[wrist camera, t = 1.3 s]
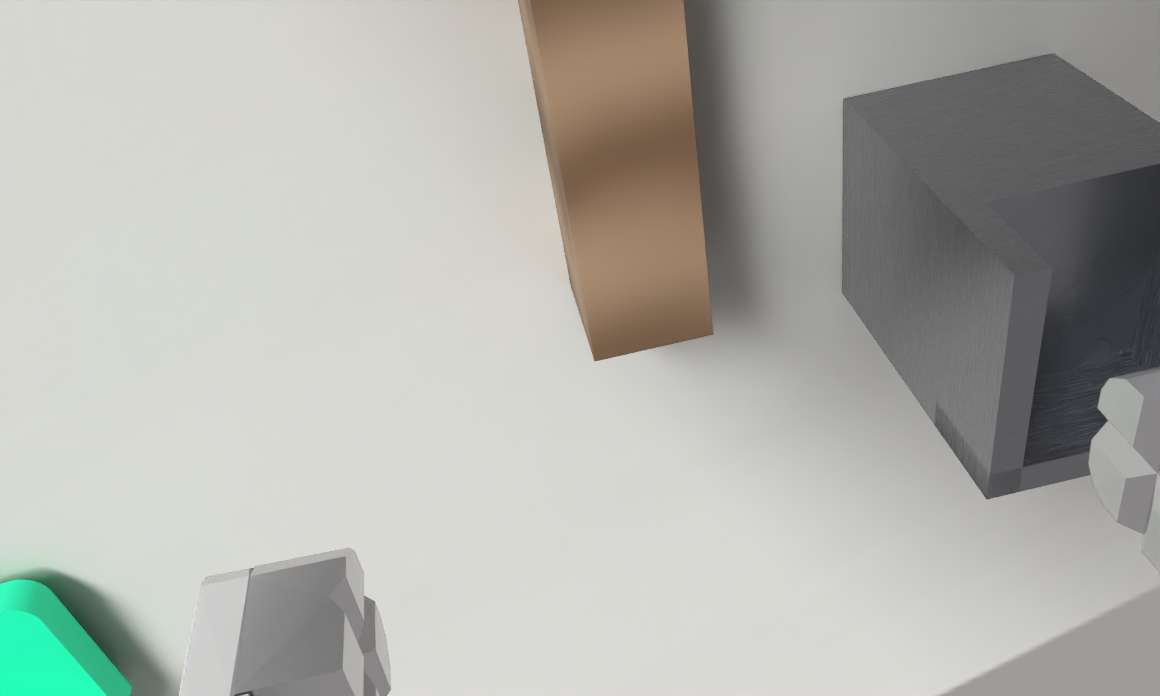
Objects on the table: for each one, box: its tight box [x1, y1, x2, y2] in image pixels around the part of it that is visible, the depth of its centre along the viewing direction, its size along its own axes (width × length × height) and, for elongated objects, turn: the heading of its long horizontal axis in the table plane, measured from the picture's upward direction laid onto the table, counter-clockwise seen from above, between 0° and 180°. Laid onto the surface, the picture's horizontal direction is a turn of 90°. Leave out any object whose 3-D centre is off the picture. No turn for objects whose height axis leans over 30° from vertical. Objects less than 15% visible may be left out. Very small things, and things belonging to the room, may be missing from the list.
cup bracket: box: [842, 54, 1160, 499], centre depth 33 cm, size 8×8×12 cm
